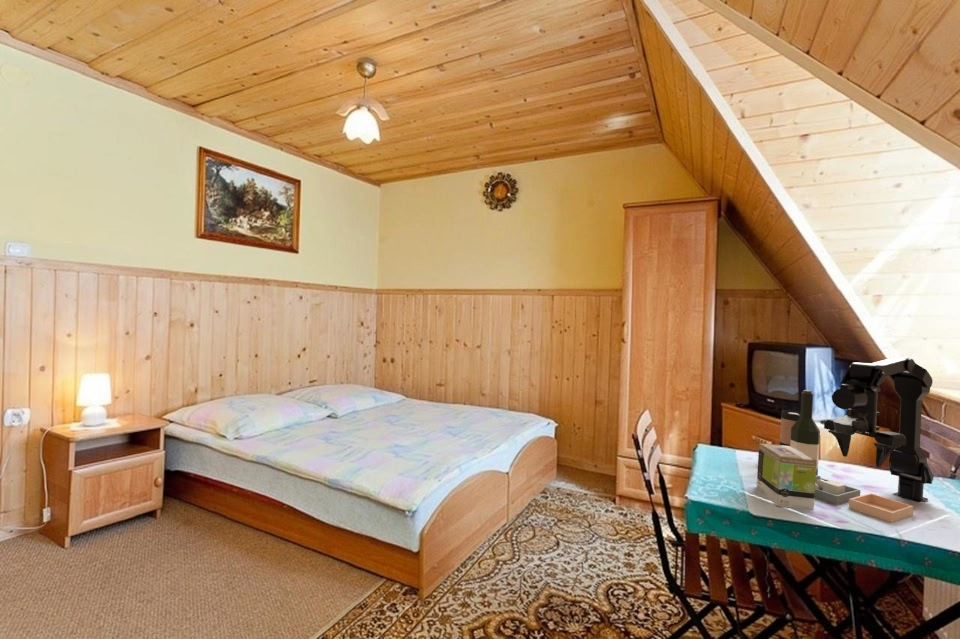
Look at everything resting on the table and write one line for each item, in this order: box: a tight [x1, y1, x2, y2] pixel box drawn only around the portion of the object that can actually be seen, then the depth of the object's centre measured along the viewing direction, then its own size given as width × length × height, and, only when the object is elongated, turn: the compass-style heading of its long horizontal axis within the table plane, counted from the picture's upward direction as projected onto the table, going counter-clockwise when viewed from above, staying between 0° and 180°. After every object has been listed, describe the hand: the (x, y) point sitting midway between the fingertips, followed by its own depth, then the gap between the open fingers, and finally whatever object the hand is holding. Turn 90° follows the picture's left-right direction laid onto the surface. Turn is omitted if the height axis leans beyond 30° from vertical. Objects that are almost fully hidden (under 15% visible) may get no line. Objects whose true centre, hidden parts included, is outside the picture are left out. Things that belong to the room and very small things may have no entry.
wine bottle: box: [790, 389, 821, 476], centre depth 159 cm, size 8×8×30 cm
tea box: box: [756, 443, 817, 510], centre depth 139 cm, size 15×10×15 cm, turn 170°
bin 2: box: [848, 492, 914, 523], centre depth 131 cm, size 12×10×3 cm
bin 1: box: [814, 475, 861, 505], centre depth 147 cm, size 13×22×4 cm, turn 27°
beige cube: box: [823, 479, 846, 495], centre depth 141 cm, size 4×4×4 cm
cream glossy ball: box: [815, 479, 825, 490], centre depth 146 cm, size 3×3×3 cm
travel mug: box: [779, 409, 801, 446], centre depth 171 cm, size 8×8×20 cm
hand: (861, 461), depth 132 cm, fingers open, 9 cm apart
